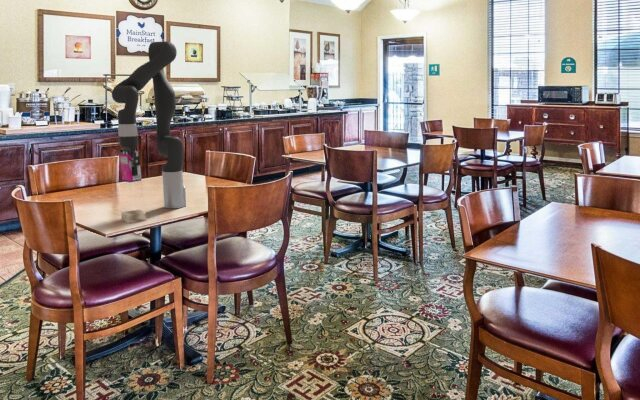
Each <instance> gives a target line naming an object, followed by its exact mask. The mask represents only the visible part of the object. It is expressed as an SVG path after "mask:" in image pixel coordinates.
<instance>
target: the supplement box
mask: <svg viewBox="0 0 640 400" xmlns="http://www.w3.org/2000/svg"><path fill="white" fill-rule="evenodd" d="M129 158H131V159H133V157H131V155H126V154H120V153H119V159H120V169H121V178H122V179H121V180H122V182H125V183H134V182H135V183H136V182H140V181H142V172H141V171H142V170H141V164H140V165H138V166H137V170H138V175H137V176H133V175H132V166H131V162H130V160H129ZM137 163H138V160H137Z"/></svg>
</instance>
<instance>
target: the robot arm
mask: <svg viewBox="0 0 640 400" xmlns="http://www.w3.org/2000/svg"><path fill="white" fill-rule="evenodd" d="M147 53H148V54H147V55H148V61H147V62H145V63H143V64H142V65H140V66H139V67H137V68H136V69H135V70H134V71H133V72H132V73H131V74H130V76H128V77H127V78H125V79H124V80H122V81H120V82H119V83H117V84H116V85H115V86H114V87H113V89H112V91H111V97H112V100H113V101H114V102H115V103H117V104H124V108H122V109H120V110H118V111H117V123H118V125H117V126H118V127H117V128H118V130H117V133H118V143H119V144H118V145H119V147H121V149H118V150H119V155H120V154H126V155H131V157H133V159H131V158H129V160H130V162H131V166H132V175H133V176H137V175H138V170H137V166H138V165H140V166H141V152H140V150H138V151H137V149H136V147H138V146H139V133H138V131H139V130H138V125H137V110H138V105H139V104H138V103H139V99H140V97H139V96H140V95H139V91H142V90H143V89H144V88H145V87H146V85H147V84H148V83H149V82H150V81H151V80H152V86H153V97H154V108H155V119H156V140H155V141H156V149H157V152H158V154H159V155H161V156H164V157H167V162H166V163H163V164H162V165H161V175H162V192H163V207H164V208H165V209H180V208H184V207H186V206H187V197H186V196H187V195H186V186H185V185H184V177H183V176H184V175H183V167H184V157H185V155H184V143H183V141H182V139H181V138H180V137H178V136H171V124H172V123H171V122H172V120H173V117H174V114H175V111H176V106H177V103H176V102H177V101H176V93H175V90H174V88H173V87H172V84H171V83H170V81H169V80H168V79H167V77H166V74H165V69H164V68H166V67H167V66H168V65H170V64H171V63H173V62H174V61H175V59H176V57H177V53H178V52H177V47H176V46H175V44H174V43H173V42H170V41H167V40H166V41H153V42H151V43H150V44H149V45H148V52H147ZM137 160H138V163H137Z"/></svg>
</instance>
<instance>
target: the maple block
mask: <svg viewBox="0 0 640 400" xmlns="http://www.w3.org/2000/svg"><path fill="white" fill-rule="evenodd" d="M120 212H121V213H120V214H121V220H122V221H123V222H125V223H126V224H129V223H130V224H131V223H137V222H138V223H139V222H143V221H147V212H145V211H143V210H141V209H134V210H133V209H132V210H127V211H120Z"/></svg>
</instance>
